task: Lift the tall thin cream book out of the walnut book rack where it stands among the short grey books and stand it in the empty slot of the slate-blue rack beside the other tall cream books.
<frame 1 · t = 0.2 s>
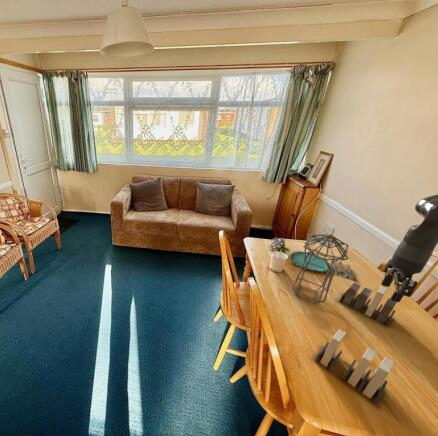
hand: (389, 292, 82), 23 cm above the table, tool pointing down, fingers open, 8 cm apart
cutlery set: (318, 266, 134), on the table
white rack: (345, 375, 79), on the table
geometric lantern: (305, 297, 112), on the table
white cup: (275, 269, 132), on the table
white book: (369, 312, 102), point 1 cm above the table, touching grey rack
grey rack: (363, 310, 104), on the table
purple flower bunch: (278, 251, 149), on the table
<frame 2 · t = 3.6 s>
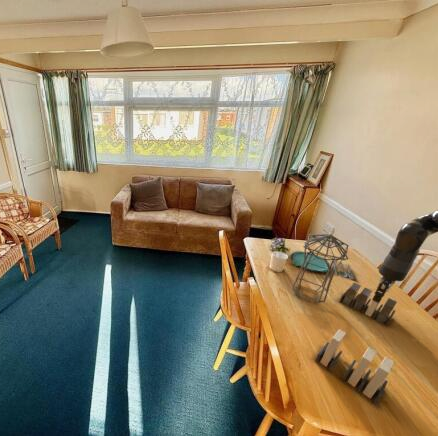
hand: (378, 297, 98), 10 cm above the table, tool pointing down, fingers closed on white book, 6 cm apart
white book: (369, 312, 102), point 1 cm above the table, touching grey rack, gripper
everything else where it was.
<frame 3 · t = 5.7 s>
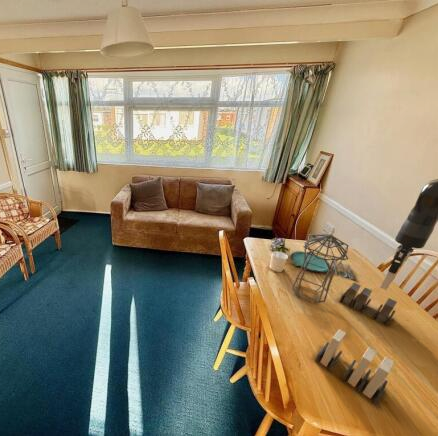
hand: (394, 269, 91), 25 cm above the table, tool pointing down, fingers closed on white book, 6 cm apart
white book: (384, 286, 95), point 17 cm above the table, touching gripper
everything else where it was.
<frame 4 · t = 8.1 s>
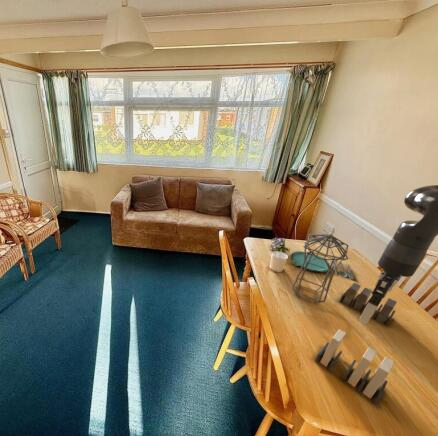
hand: (376, 299, 73), 28 cm above the table, tool pointing down, fingers closed on white book, 6 cm apart
white book: (365, 318, 76), point 20 cm above the table, touching gripper
everything else where it was.
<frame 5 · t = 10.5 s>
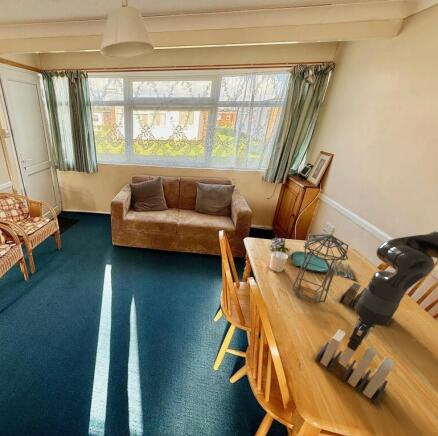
hand: (355, 342, 74), 15 cm above the table, tool pointing down, fingers closed on white book, 6 cm apart
white book: (345, 359, 77), point 6 cm above the table, touching gripper
everything else where it was.
when the fingers open (10 cm above the table, at t = 12.6 s): white book stays where it is, resting on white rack.
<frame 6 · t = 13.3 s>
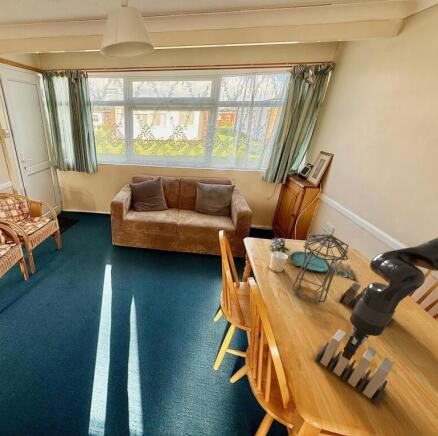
hand: (350, 350, 75), 11 cm above the table, tool pointing down, fingers open, 8 cm apart
white book: (339, 368, 80), point 1 cm above the table, touching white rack
everything else where it was.
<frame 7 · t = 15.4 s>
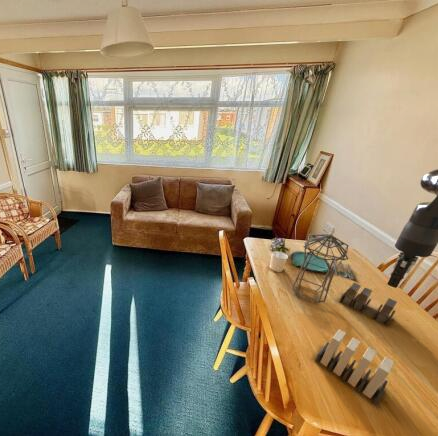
hand: (395, 280, 74), 33 cm above the table, tool pointing down, fingers open, 8 cm apart
nothing on the table moved.
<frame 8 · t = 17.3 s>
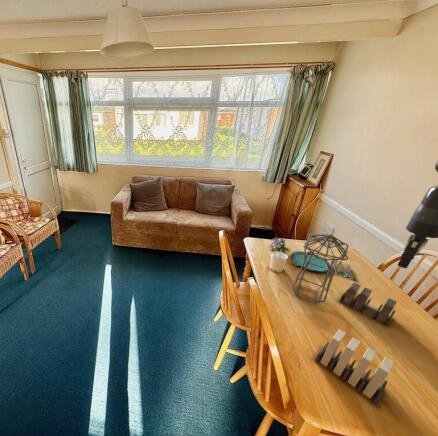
hand: (404, 262, 78), 36 cm above the table, tool pointing down, fingers open, 8 cm apart
nothing on the table moved.
at the end: white book 0.1 cm from the target spot on the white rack, point 1.0 cm above the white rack's base; white book tilted 0°; the gripper is holding nothing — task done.
